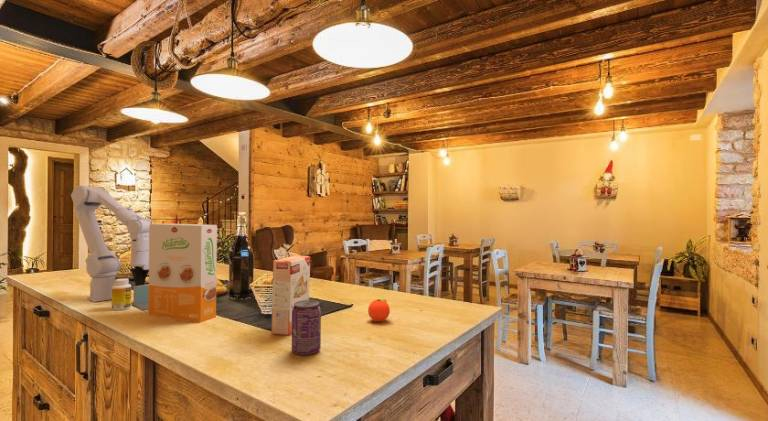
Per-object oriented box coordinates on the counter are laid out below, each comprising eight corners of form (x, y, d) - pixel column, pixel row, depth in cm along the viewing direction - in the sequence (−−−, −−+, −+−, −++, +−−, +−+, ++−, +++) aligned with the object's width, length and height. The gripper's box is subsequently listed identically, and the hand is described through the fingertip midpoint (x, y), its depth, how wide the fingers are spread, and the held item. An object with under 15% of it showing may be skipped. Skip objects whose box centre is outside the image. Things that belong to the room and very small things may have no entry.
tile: (133, 303, 138) (133, 286, 138) (151, 301, 143) (151, 283, 143) (134, 304, 137) (135, 286, 137) (153, 301, 142) (153, 284, 142)
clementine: (378, 316, 126) (378, 294, 126) (395, 319, 122) (395, 297, 122) (363, 321, 119) (363, 299, 119) (381, 325, 115) (381, 302, 115)
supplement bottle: (126, 310, 129) (127, 280, 129) (108, 311, 128) (108, 281, 128) (133, 306, 135) (134, 277, 135) (116, 307, 133) (116, 278, 133)
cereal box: (215, 317, 122) (217, 225, 122) (200, 322, 116) (201, 225, 116) (165, 310, 130) (166, 223, 130) (148, 314, 124) (149, 224, 124)
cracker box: (290, 336, 105) (291, 261, 105) (270, 334, 106) (271, 260, 106) (310, 321, 118) (311, 255, 118) (292, 320, 120) (293, 254, 120)
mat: (132, 305, 136) (132, 304, 136) (159, 300, 143) (159, 300, 143) (143, 310, 129) (143, 309, 129) (171, 305, 136) (171, 304, 136)
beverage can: (308, 344, 99) (308, 298, 99) (326, 350, 94) (327, 302, 94) (285, 351, 93) (286, 303, 93) (303, 359, 89) (304, 308, 89)
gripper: (159, 251, 141) (158, 287, 141) (145, 248, 150) (144, 282, 150) (137, 253, 135) (137, 290, 135) (124, 250, 145) (124, 285, 145)
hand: (139, 286), depth 142 cm, fingers closed
